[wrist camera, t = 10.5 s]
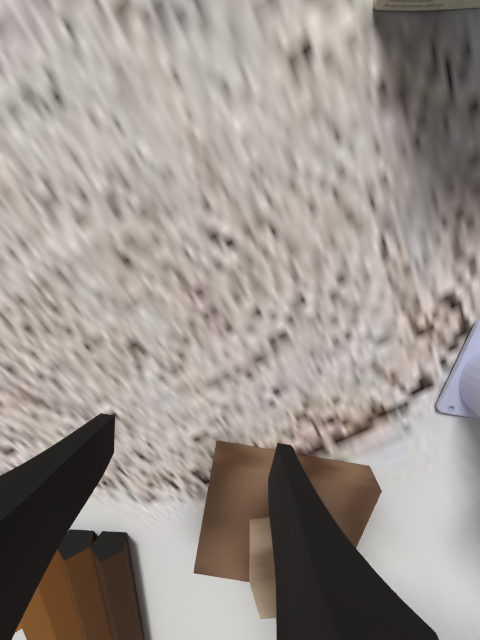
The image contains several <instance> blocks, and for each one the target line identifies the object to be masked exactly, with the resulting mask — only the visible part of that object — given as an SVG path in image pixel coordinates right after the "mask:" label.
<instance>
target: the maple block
mask: <svg viewBox="0 0 480 640" xmlns="http://www.w3.org/2000/svg"><path fill="white" fill-rule="evenodd" d="M249 582H250V586H251V589H252V592H253V596H254V599H255V602H256V606H257V609H258V612H259V616H260V619H265V618H276V579H275V565H274V556H273V546H272V537H271V527H270V517H268V518H259V519H250V555H249Z"/></svg>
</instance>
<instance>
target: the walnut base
mask: <svg viewBox="0 0 480 640" xmlns="http://www.w3.org/2000/svg"><path fill="white" fill-rule="evenodd" d="M275 451H276V450H270V449H264V448H258V447H252V446H246V445H240V444H235V443H229V442H223V441H217V442H216V448H215V453H214V459H213V465H212V470H211V476H210V482H209V487H208V493H207V499H206V504H205V510H204V515H203V521H202V527H201V532H200V538H199V544H198V550H197V556H196V561H195V567H194V573H196V574H202V575H209V576H215V577H221V578H227V579H233V580H240V581H246V582H249V555H250V519H259V518H268V517H269V507H268V477H269V473H270V469H271V466H272V462H273V458H274V454H275ZM296 455H297V457H298V459H299V461H300V463H301V465H302V467H303V469H304V471H305V472H306V474H307V476H308V478H309V480H310V481H311V483H312V485H313V487H314V488H315V490H316V492H317V493H318V495H319V497H320V498H321V500H322V502H323V503H324V505H325V506H326V508H327V509H328V511H329V512H330V514H331V515H332V517H333V518H334V520H335V521H336V523H337V524H338V526H339V527H340V528H341V530H342V531H343V532H344V534H345V535H346V536H347V538H348V539H349V540H350V542H351V543H352V544H353V546H354V547H355V548H356V547H357V545H358V542H359V540H360V538H361V536H362V534H363V531H364V529H365V527H366V525H367V523H368V520H369V518H370V516H371V514H372V511H373V509H374V507H375V505H376V503H377V500H378V498H379V496H380V494H381V492H382V491H381V489H380V487H379V485H378V483H377V481H376V479H375V476H374V474H373V472H372V470H371V468H370V466H365V465H360V464H354V463H348V462H342V461H336V460H330V459H324V458H318V457H312V456H306V455H300V454H296Z"/></svg>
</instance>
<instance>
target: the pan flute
mask: <svg viewBox="0 0 480 640" xmlns="http://www.w3.org/2000/svg"><path fill="white" fill-rule="evenodd" d="M20 629H23V631H24V634H25V636H26V639H27V640H145V639H144V633H143V627H142V621H141V615H140V610H139V604H138V598H137V592H136V586H135V580H134V574H133V569H132V563H131V557H130V551H129V545H128V539H127V534H126V533H125V532H107V531H103V532H102V533H101V534H100V535H99V536H98V538H97V539H96V540H95V536H94V532H93V531H88V530H69V531H68V532H67V533H66V535H65V537H64V538H63V540H62V542H61V543H60V545H59V547H58V549H57V551H56V553H55V555H54V556H53V558H52V560H51V562H50V564H49V566H48V568H47V570H46V572H45V573H44V575H43V577H42V579H41V581H40V583H39V585H38V587H37V589H36V591H35V593H34V595H33V597H32V599H31V601H30V603H29V605H28V607H27V609H26V611H25V613H24V615H23V617H22V619H21V621H20V623H19V625H18V627H17V629H16V631H15V632H17V631H19V630H20Z"/></svg>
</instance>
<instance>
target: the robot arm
mask: <svg viewBox="0 0 480 640" xmlns="http://www.w3.org/2000/svg"><path fill="white" fill-rule="evenodd" d="M450 406H451V407H450ZM449 407H450V408H449ZM436 408H437V409H438V410H439V411H440V412H442V413H447V414H453V415H459V416H465V417H470V418H476V419H480V319H479V320H478V321H476V322H475V324H474V326H473V328H472V330H471V332H470V334H469V336H468V338H467V340H466V343H465V345H464V347H463V349H462V351H461V353H460V355H459V357H458V359H457V362H456V364H455V366H454V368H453V370H452V372H451V374H450V376H449V378H448V381H447V383H446V385H445V387H444V389H443V391H442V393H441V395H440V397H439V400H438V402H437V404H436ZM114 432H115V416H114V415H108V414H102V413H101V414H99V415H98V416H96V417H95V418H93V419H92V420H90V421H89V422H87V423H86V424H85V425H83V426H82V427H80V428H79V429H77V430H76V431H74V432H73V433H71V434H70V435H68V436H67V437H65V438H64V439H62V440H61V441H59V442H58V443H56V444H55V445H53V446H52V447H50V448H48V449H47V450H45V451H43V452H42V453H40V454H39V455H37V456H35V457H34V458H32V459H30V460H29V461H27V462H25V463H23V464H22V465H20V466H18V467H16V468H14V469H13V470H11V471H9V472H7V473H5V474H3V475H1V476H0V640H12V638H13V636H14V634H15V631H16V629H17V627H18V625H19V623H20V621H21V619H22V617H23V615H24V613H25V611H26V609H27V607H28V605H29V603H30V601H31V599H32V597H33V595H34V593H35V591H36V589H37V587H38V585H39V583H40V581H41V579H42V577H43V575H44V573H45V572H46V570H47V568H48V566H49V564H50V562H51V560H52V558H53V556H54V555H55V553H56V551H57V549H58V547H59V545H60V543H61V542H62V540H63V538H64V537H65V535H66V533H67V531H68V530H69V528H70V527H71V525H72V524H73V522H74V520H75V519H76V517H77V516H78V514H79V513H80V511H81V509H82V508H83V506H84V505H85V503H86V502H87V500H88V498H89V497H90V495H91V494H92V492H93V490H94V489H95V487H96V486H97V484H98V483H99V481H100V479H101V478H102V476H103V474H104V472H105V470H106V468H107V466H108V464H109V462H110V460H111V458H112V456H113V453H114ZM268 507H269V517H270V527H271V537H272V546H273V556H274V565H275V579H276V620H277V640H439V638H438V636H437V634H436V632H434V631H433V630H432V629H431V628H430V627H429V626H428V625H427V624H426V623H425V622H424V621H423V620H422V619H421V618H420V617H419V616H418V615H417V614H416V613H415V612H414V611H413V610H412V609H411V608H410V607H409V606H408V605H407V604H406V603H404V602H403V601H402V599H401V598H400V597H399V596H398V595H397V594H396V593H395V592H394V591H393V590H392V589H391V588H390V587H389V586H388V585H387V584H386V583H385V582H384V581H383V579H382V578H381V577H380V576H379V575H378V574H377V573H376V572H375V570H374V569H373V568H372V567H371V566H370V565H369V563H368V562H367V561H366V560H365V559H364V558H363V556H362V555H361V554H360V553H359V552H358V550H357V549H356V548H355V547H354V546H353V544H352V543H351V542H350V540H349V539H348V538H347V536H346V535H345V534H344V532H343V531H342V530H341V528H340V527H339V526H338V524H337V523H336V521H335V520H334V518H333V517H332V515H331V514H330V512H329V511H328V509H327V508H326V506H325V505H324V503H323V502H322V500H321V498H320V497H319V495H318V493H317V492H316V490H315V488H314V487H313V485H312V483H311V481H310V480H309V478H308V476H307V474H306V472H305V471H304V469H303V467H302V465H301V463H300V461H299V459H298V457H297V455H296V453H295V451H294V449H293V447H292V446H291V445H286V444H280V443H277V447H276V451H275V454H274V458H273V462H272V466H271V469H270V473H269V477H268Z"/></svg>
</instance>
